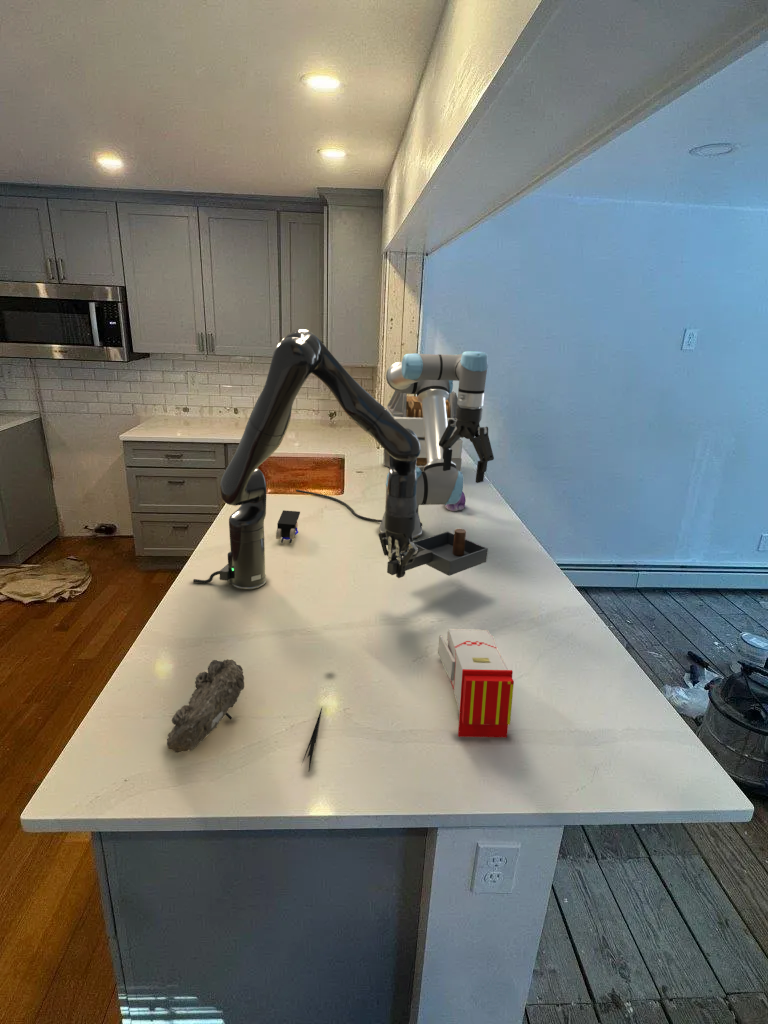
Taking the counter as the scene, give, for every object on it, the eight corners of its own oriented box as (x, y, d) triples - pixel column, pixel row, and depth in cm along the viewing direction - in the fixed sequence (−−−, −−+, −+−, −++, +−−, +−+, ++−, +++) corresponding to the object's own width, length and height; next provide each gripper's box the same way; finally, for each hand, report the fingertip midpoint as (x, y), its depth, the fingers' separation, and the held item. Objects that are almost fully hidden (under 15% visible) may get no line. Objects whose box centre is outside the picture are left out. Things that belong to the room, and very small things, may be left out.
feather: (331, 679, 122) (336, 673, 122) (307, 777, 96) (313, 769, 95) (324, 675, 122) (329, 669, 121) (298, 772, 95) (304, 764, 95)
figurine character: (295, 549, 186) (301, 528, 200) (295, 529, 183) (300, 509, 196) (275, 549, 186) (282, 527, 199) (274, 528, 183) (281, 508, 196)
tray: (409, 590, 138) (410, 574, 136) (370, 568, 148) (371, 553, 147) (486, 562, 156) (488, 547, 154) (446, 544, 166) (448, 530, 165)
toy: (488, 613, 130) (523, 677, 101) (484, 667, 133) (517, 744, 104) (435, 612, 130) (455, 676, 101) (432, 666, 133) (451, 743, 103)
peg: (450, 553, 159) (452, 530, 156) (457, 550, 161) (459, 527, 159) (458, 557, 157) (461, 533, 154) (466, 554, 159) (468, 531, 156)
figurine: (452, 513, 222) (455, 476, 217) (438, 505, 231) (441, 469, 226) (471, 510, 227) (475, 474, 221) (457, 502, 235) (460, 467, 230)
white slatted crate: (382, 463, 289) (386, 382, 275) (445, 464, 293) (451, 384, 279) (390, 482, 257) (394, 392, 243) (460, 483, 261) (468, 394, 247)
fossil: (192, 660, 117) (244, 628, 112) (224, 691, 120) (276, 661, 115) (142, 746, 98) (202, 712, 93) (182, 779, 101) (242, 748, 96)
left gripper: (370, 506, 141) (368, 569, 147) (408, 522, 131) (404, 589, 137) (393, 500, 146) (390, 562, 152) (431, 516, 136) (426, 581, 142)
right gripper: (430, 400, 172) (425, 467, 180) (494, 415, 154) (485, 489, 162) (447, 398, 176) (442, 463, 184) (511, 413, 159) (502, 484, 167)
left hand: (396, 574), depth 144 cm, fingers closed on tray, 2 cm apart
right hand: (462, 475), depth 173 cm, fingers open, 13 cm apart
